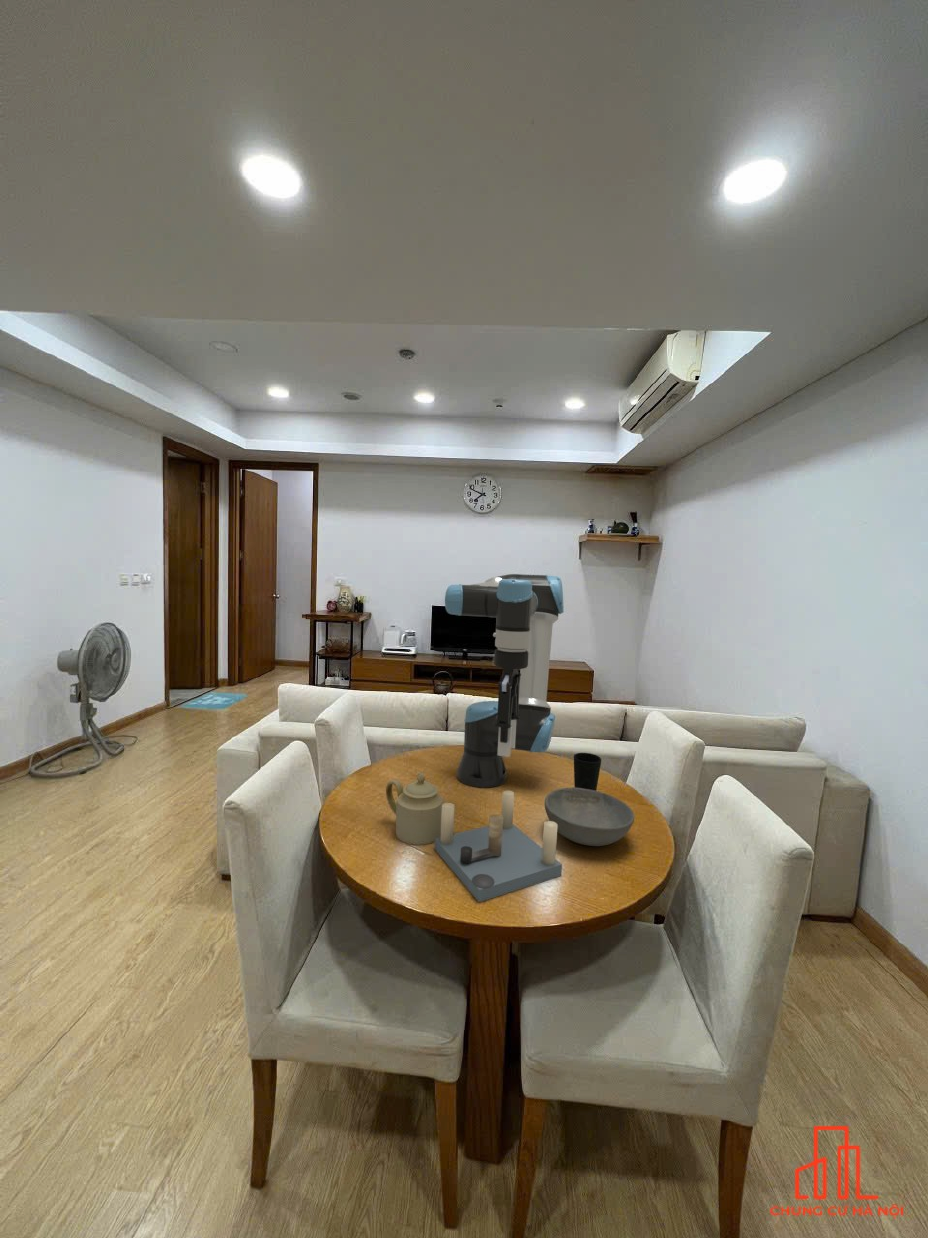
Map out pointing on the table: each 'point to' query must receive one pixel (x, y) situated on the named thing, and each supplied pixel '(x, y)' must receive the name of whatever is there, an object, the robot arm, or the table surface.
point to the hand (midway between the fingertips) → (506, 751)
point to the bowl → (588, 816)
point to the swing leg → (494, 843)
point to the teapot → (416, 811)
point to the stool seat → (516, 862)
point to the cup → (586, 770)
